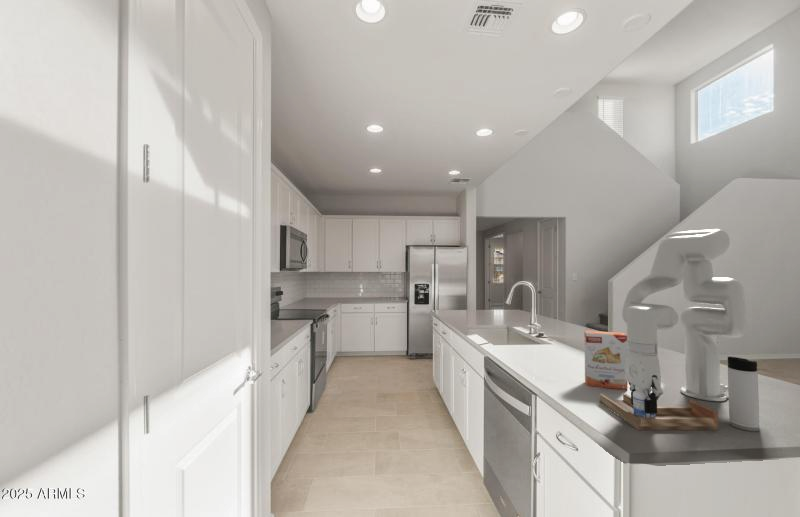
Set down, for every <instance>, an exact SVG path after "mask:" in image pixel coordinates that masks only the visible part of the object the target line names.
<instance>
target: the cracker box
mask: <svg viewBox="0 0 800 517" xmlns="http://www.w3.org/2000/svg"><path fill="white" fill-rule="evenodd" d="M583 335H584V382H585V384H586V386H588V387H597V388H604V389H613V388H615V390H622V389H628V387H629V386H628V385H629V383H628V381H626V379H625V357H626V351H627V334H625V333H624V332H617V331H616V332H615V331H613V332H612V331H600V330H599V331H597V330H584V333H583Z"/></svg>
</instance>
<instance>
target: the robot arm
mask: <svg viewBox="0 0 800 517" xmlns="http://www.w3.org/2000/svg"><path fill="white" fill-rule="evenodd" d="M729 248H730V236H729V235H728V233H727V232H726V230H724V229H719V228H714V229H712V228H711V229H701V230H700V229H699V230H686V231H685V230H684V231H676V232H672V233H669V234H667V235H666V236H665V238H664V239H663V240H661V241H660V242H659V244H658V247H657V249H656V254H655V257H654V259H653V263H652V266H651V270H650V272H649V274H648V275H647V276H645V277H643V278H642V279H640V280H639V281H638V282H637V283H635V284H634V285H633V286H632V287H631V288H630V289H629V291H628V292H627V294H626V297H625V299H624V302H623V307H622V310H621V311H622V312H621V316H622V320H623V321H624V322H625V323H626V336H627V351H626V357H625V379H626V381H628V385H629V390H630V397H631V404H632V405H633V392H634V391H636V390H635V386H637V387H639V388H641V389H643V390H644V391H645V395H646V399H644V400H645V413H647V414H656V413H657V407H658V401H659V399H660V397H661V396H662V395H663V394H664V391H663V389H662V386H661V385H662V379H661V377H662V376H661V368H660V367H661V366H660V360H659V356H658V355H659V353H658V352H659V351H658V350H659V349H658V330H662V331H667V330H671V329H673V328H675V326H676V325H677V324H678V321H679V315H678V312H677V311H676V310H675V308H674V307H671V306H669V305H666V304H655V303H645V302H644V303H643V301H644V300H645V299H646V298H647V297H649V296H650V295H652V294H656V293H660V292H661V291H664V290H668V289H671V288H675V287H676V286H678V285H680V284H681V283H682V288H683V295H684V298H685V300H686V301H688V302H689V303H692V304H700V305H710V306H711V305H714V306H722V307H723V308H716V307H707V306H706V307H705V306H689V307H686V308H684V309H683V310H682V311H681V313H680V323H681V328H682V332H683V340H684V364H685V365H684V369H685V370H684V371H685V386H681V387H680V392H681V393H682V395H685V396H686V397H687V396H688V397H691V398H692V399H693V398H694V399H697V400H701V401H709V402H724V401H727V399H728V396H727V394H725V393H726V392H728V385H725V384H723V383H721V356H720V347H719V344H718V343H717V342H716V340H715V339H714V338H713V336H718V337H726V338H737V339H738V338H742V337H743V336H745V335H746V333H747V325H748V324H747V313H746V310H747V309H746V301H745V300H746V298H745V292H744V291H745V290H744V287H743V285H742V284H741V282H740V281H739V280H738V279H735V278H731V277H715V276H714V272H713V263H712V260H715V259H717V258H718V257H720V256H722V255H724V254H725V253H726V252H727V251H728V249H729ZM650 387H651V388H650ZM649 391H651V392H650V393H651V394H649Z"/></svg>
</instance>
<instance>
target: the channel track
mask: <svg viewBox="0 0 800 517" xmlns="http://www.w3.org/2000/svg"><path fill="white" fill-rule="evenodd" d="M622 398H623V399H611V398H609V397H608V396H606V395H605V394H604V393H599V404H600V405H602V404H603V405H604V406H603V405H602V406H603V407H605V406H606V407H607V408H606V407H605V408H606V409H608V408H609V409H610V410H609V409H608V410H609V411H611V410H612V411H613V412H615V413H616V414H618V415H619V416H620V417H622V418H623V419H625V420H626V421H627V422H629V423H630V424H631V425H630V424H629V423H628V424H629V425H630V426H632V427H633V426H634V427H633V428H635V429H636V430H637V429H638V430H639V431H646V430H647V431H649V430H650V431H651V430H652V431H666V430H667V431H699V430H700V431H718V430H719V421H718V420H719V419H718V411H715V410H713V409H712V408H710V407H708V406H706V405H703V404H701V403H699V402H697V401H694V400H692V399H689V400H688V406H657V413H656V414H655V417H656V418H638V417H637V416H635V415H634V410H633V405H632V404H631V395H629V394H627V393H623V394H622ZM612 411H611V412H612ZM613 412H612V413H613ZM615 413H614V414H615ZM616 414H615V415H616ZM618 415H617V416H618ZM619 416H618V417H619ZM620 417H619V418H620ZM622 418H621V419H622ZM623 419H622V420H623ZM625 420H624V421H625ZM626 421H625V422H626ZM627 422H626V423H627Z"/></svg>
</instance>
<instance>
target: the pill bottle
mask: <svg viewBox="0 0 800 517" xmlns="http://www.w3.org/2000/svg"><path fill="white" fill-rule="evenodd" d="M650 388H652V387H650ZM635 390H636V391H634V392H633V410H634V415H635V416H637V417H638V418H656V417H655V414H647V413H645V400H644V399H646V395H645V391H644V390H643V389H641V388H639V387H637V386H635ZM651 393H652V391H649V394H651Z"/></svg>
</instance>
